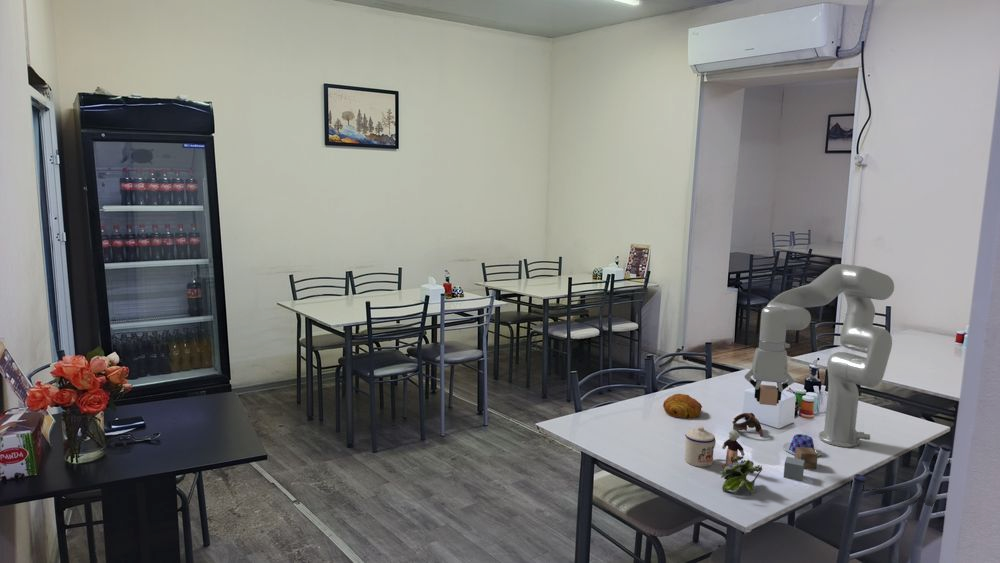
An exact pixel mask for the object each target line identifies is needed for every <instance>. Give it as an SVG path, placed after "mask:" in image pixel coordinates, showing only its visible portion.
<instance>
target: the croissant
mask: <svg viewBox="0 0 1000 563" xmlns="http://www.w3.org/2000/svg"><path fill="white" fill-rule="evenodd" d="M662 407H663V410H664V412H665V413H666V414H667V415H668V416H670V417H673V418H683V419H685V418H686V419H693V418H697V417H699V415H701V413H702V408H703V405H702V404H701V403H700V402H699V401H697V399H695V398H693V397H692V396H690V395H689V394H685V393H675V394H671V396H670V395H669V397H667V398H666V399H665V400H664V401H663V404H662Z"/></svg>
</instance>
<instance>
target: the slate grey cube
mask: <svg viewBox="0 0 1000 563" xmlns="http://www.w3.org/2000/svg"><path fill="white" fill-rule="evenodd" d="M804 462H805V460H801V459H797V458H795V457H791V456H786V458H785V461H784V467H783V478H785V479H789V480H793V481H798V482H802V481H803V477H804V472H805V468H804Z"/></svg>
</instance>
